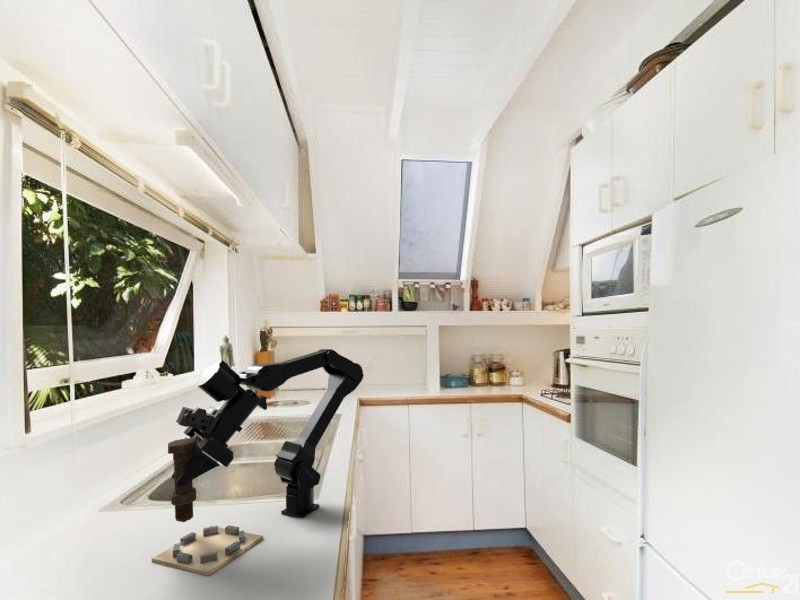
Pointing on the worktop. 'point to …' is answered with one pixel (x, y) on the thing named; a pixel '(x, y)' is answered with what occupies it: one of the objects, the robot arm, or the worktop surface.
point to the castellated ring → (210, 556)
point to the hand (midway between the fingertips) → (175, 481)
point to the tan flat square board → (207, 551)
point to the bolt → (187, 492)
